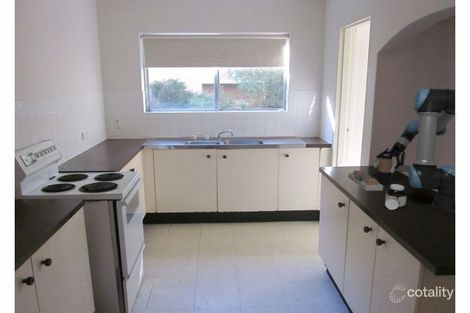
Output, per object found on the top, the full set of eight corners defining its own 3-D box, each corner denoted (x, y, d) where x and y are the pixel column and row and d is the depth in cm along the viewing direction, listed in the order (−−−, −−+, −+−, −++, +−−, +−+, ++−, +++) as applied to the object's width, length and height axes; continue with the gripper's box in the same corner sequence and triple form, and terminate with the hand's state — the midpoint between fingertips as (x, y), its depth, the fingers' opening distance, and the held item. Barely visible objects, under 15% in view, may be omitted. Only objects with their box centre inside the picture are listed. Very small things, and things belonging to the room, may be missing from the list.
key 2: (377, 185, 216) (378, 181, 216) (368, 185, 216) (368, 181, 215) (373, 182, 222) (373, 178, 222) (364, 182, 222) (364, 178, 221)
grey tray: (382, 190, 215) (383, 185, 214) (365, 190, 215) (366, 185, 214) (363, 177, 242) (363, 172, 242) (348, 177, 242) (348, 172, 241)
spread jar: (401, 203, 193) (404, 184, 191) (409, 211, 182) (412, 191, 180) (379, 202, 195) (381, 183, 192) (386, 210, 184) (388, 190, 181)
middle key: (371, 181, 225) (371, 176, 224) (362, 181, 225) (362, 177, 224) (367, 178, 231) (367, 174, 230) (358, 178, 231) (358, 174, 230)
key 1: (365, 177, 234) (365, 172, 233) (356, 177, 234) (357, 173, 233) (361, 174, 240) (361, 170, 239) (353, 174, 239) (353, 170, 239)
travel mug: (376, 184, 227) (379, 154, 223) (377, 180, 234) (380, 152, 229) (388, 185, 224) (392, 156, 219) (389, 182, 231) (393, 153, 226)
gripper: (419, 152, 219) (400, 178, 217) (387, 145, 241) (370, 168, 238) (415, 145, 216) (396, 171, 213) (383, 138, 238) (365, 161, 235)
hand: (382, 169), depth 226 cm, fingers open, 13 cm apart
